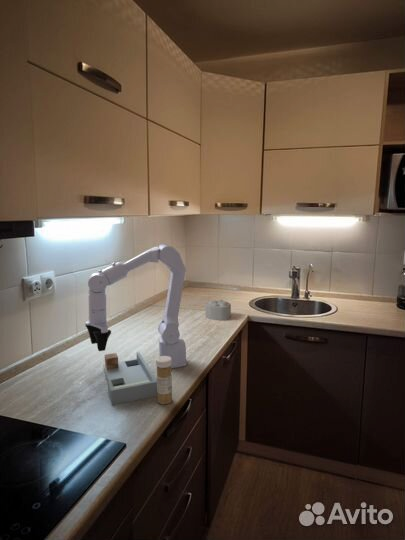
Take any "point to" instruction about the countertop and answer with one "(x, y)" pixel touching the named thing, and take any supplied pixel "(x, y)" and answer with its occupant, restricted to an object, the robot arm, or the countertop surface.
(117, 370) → the grey pocketed tray
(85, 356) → the countertop surface
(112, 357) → the block
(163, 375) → the sprinkles bottle
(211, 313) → the lumpy-topped squat cylinder
